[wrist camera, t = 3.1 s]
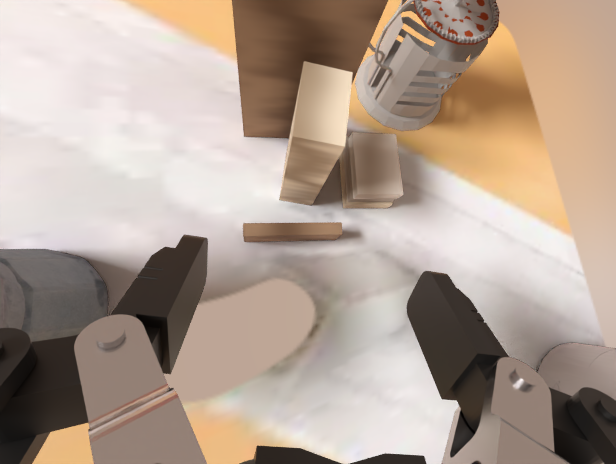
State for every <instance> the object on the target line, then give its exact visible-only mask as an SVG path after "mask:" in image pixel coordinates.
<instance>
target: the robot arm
mask: <svg viewBox="0 0 616 464" xmlns="http://www.w3.org/2000/svg"><path fill="white" fill-rule="evenodd" d="M207 250H208V240H207V238H204V237H197V236H190V235H183V237H182V238H181V240H180V242H179V243H178V245H177V247H176V248H170V247H164V248H163V249H161V250H160V251H158V252H156V253H155V254H153V255H152V256H151V258H150V259H149V261H148V262H147V263H146V265H145V267H144V268H143V269H142V271H141V272H140V273H139V275H138V278H136V279H135V281H134V282H133V284H132V285H131V286H130V288H129V289H128V291H127V292H126V294H125V295H124V296H123V298H122V299H121V301H120V302H119V304H118V305H117V307H116V308H115V309H114V311H113V312H112V314H111V315H110V316H107V317H104V318H101V319H98V320H96V321H94V322H93V323H91V324H89V325H88V326H87V327H86V328H84V329H83V330H82V331H81V332H80V334H78V335H74V336H69V337H62V338H56V339H49V340H42V341H35V342H31V340H30V337H29V335H28V334H27V333H26V332H24V331H22V330H20V329H16V328H0V464H32V463H33V461H34V459H35V458H36V456H37V454H38V453H39V451H40V449H41V447H42V446H43V444H44V442H45V440H46V439H47V437H48V435H49V433H50V432H52V431H56V430H60V429H64V428H68V427H72V426H76V425H80V424H84V423H88V422H89V428H90V429H89V439H90V445H91V450H92V455H93V461H94V464H207V462H206V460H205V458H204V455H203V453H202V451H201V448H200V446H199V444H198V441H197V439H196V437H195V434H194V432H193V429H192V427H191V425H190V422H189V420H188V418H187V415H186V413H185V411H184V408H183V406H182V404H181V401H180V399H179V397H178V395H177V393H176V391H175V390H174V389H173V388H171V389H170V388H169V386H168V384H167V382H166V379H165V377H164V374H163V373H166V374H171V372H172V369H173V367H174V364H175V362H176V359H177V356H178V354H179V351H180V349H181V346H182V343H183V341H184V338H185V335H186V333H187V330H188V328H189V325H190V323H191V320H192V318H193V315H194V312H195V310H196V307H197V305H198V302H199V300H200V297H201V294H202V292H203V289H204V286H205V281H206V275H207ZM407 314H408V318H409V320H410V322H411V325H412V327H413V330H414V332H415V335H416V337H417V340H418V342H419V345H420V347H421V349H422V352H423V354H424V357H425V359H426V362H427V364H428V367H429V369H430V371H431V374H432V376H433V379H434V381H435V384H436V386H437V389H438V391H439V394H440V396H441V398H442V399H446V400H457V402H458V404H459V407H458V408H457V409H456V411H455V413H454V417H453V421H452V425H451V429H450V433H449V437H448V441H447V445H446V449H445V453H444V457H443V460H442V463H441V464H616V348H608V347H601V346H594V345H587V344H579V343H564V344H561V345H559V346H556V347H555V348H553V349H552V350H551V351H549V352H548V354H547V355H546V356H545V357H544V358H543V360H542V362H541V364H540V366H539V369H538V373H537V372H536V371H535V370H534V369H532V368H531V367H530V366H528V365H527V364H525V363H523V362H521V361H520V360H517V359H514V358H510V357H509V356H508V355H507V353H506V352H505V350H504V349H503V348H502V346H501V345H500V343H499V342H498V340H497V339H496V337H495V336H494V334H493V333H492V331H491V330H490V328H489V327H488V325H487V324H486V323H484V320H483V318H482V317H481V315H480V314H479V313H477V309H476V308H475V306H474V305H473V303H472V302H471V300H470V299H469V298H468V297H467V296H465V295H464V294H463V293H462V292H461V291H460V290H459V289H457V288H456V287H455V285H454V284H453V282H452V280H451V279H450V277H449V276H448V275H447V274H444V273H437V272H431V271H425V272H423V273H422V275H421V276H420V278H419V280H418V282H417V284H416V286H415V288H414V290H413V292H412V294H411V296H410V298H409V300H408V303H407ZM240 464H341V463H338V462H336V461H333V460H330V459H328V458H325V457H322V456H320V455H317V454H314V453H311V452H309V451H306V450H303V449H301V448H286V447H270V446H257V448H256V452H255V456H254V459H252V460H249V461H245V462H242V463H240ZM350 464H426V461H425V458H424V456H418V455H402V454H382V455H378V456H375V457H371V458H368V459H364V460H361V461H357V462H354V463H350Z"/></svg>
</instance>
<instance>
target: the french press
mask: <svg viewBox="0 0 616 464" xmlns="http://www.w3.org/2000/svg"><path fill="white" fill-rule="evenodd" d="M406 1H407V0H402V1H401V3H400V5H399V7H398V9H397V11H396V12H395V14H394V15H393V17H392V18H391V19H390V21H389V22H388V23H387V25H386V26H385V27H384V29H383V31H382V34H381V36H380V38H379V40H378V42H377V44H376V48H374V47H373V46H372V45H371V43H369V46H368V47H369V48H370V49H371V50H372V51H374V52H375V54H374V55H371V56H369V57H367V58H366V60H365V61H364V62H363V63H362V64H361V66H360V67H359V69H358V72H357V76H356V81H355V85H356V90H357V94H358V99H359V101H360V102H361V104H362V105H363V107H364V108H365V110H366V111H367V112H368V114H369V115H370V116H372V117H373V118H374V119H376V120H377V121H378V122H380V123H381V124H383V125H384V126H387V127H390V128H394V129H397V130H400V131H406V130H418V129H420V128H422V127H424V126H426V125H428V124H429V123H431V122H432V121H433V120H434V118H435V117H436V115H437V114H438V112H439V111H440V105H441V97H442V96H443V95H444V93H445V92H447V91H448V89H449V88H450V87H451V86H452V84H453V83H454V82H456V81H457V79H458V78H459V77H460V76H461V74H462V72H465V71H466V70H467V69H468V67H469V66H470V65H471V64H472V63H473V62H474V61H475V60H476V59H477V57H478V56H479V55H480V54H481V52H482V51H483V50H484V48H485V47H486V45H487V44H488V38H490V37H491V36H492V35H493V33H494V31H495V30H496V28H497V27H498V23H499V10H498V7H497V3H496V0H408V1H407V2H406ZM405 2H406V3H405ZM412 2H414V4H411V3H412ZM404 3H405V4H404ZM403 4H404V5H403ZM402 5H403V6H402ZM401 6H402V7H401ZM405 11H412V12H414V13H415V14H417V16H418V17H419V18H420V19H421V21H422V22H423V23H424V25H425V26H426V27H427V29H429V30H430V31H431V32H430V31H428V30H427V29H425V28H424V27H422V26H421V25H419V24H418V23H417V22H415V21H414V20H412V19H411V18H409V17H401V13H402V12H405ZM403 23H405V24H407V25H408V26H410V27H411V28H413V29H414V30H415V31H417V32H418V33H420V34H421V35H423V36H424V37H426V38H428V39H430V40H432V41H434V42H436V43H435V45H434V46H433V47H432V46H430V45H428V44H426V43H423V42H422V41H420V40H419V39H417V38H416V37H414V36H412V35H411V34H409V33H408V32H406V31H405V30H403V29H402V26H403ZM432 32H433V33H432ZM398 35H400V36H402V37H403V38H404V40H403V42H402V43H401V42H399V41H398V40H396V38H397V36H398ZM381 42H382V43H381ZM380 44H381V45H380ZM426 51H427V52H429V53H427V52H426ZM470 54H471V55H470ZM469 55H470V60H469V61H468V62H466V58H467V57H468V56H469ZM456 73H459V76H458V77H457V78H455V77H456ZM451 76H452V79H451V78H450V77H451ZM449 84H450V86H449V88H447V86H448V85H449ZM443 85H444V89H441V87H442V86H443ZM442 93H443V94H442ZM441 94H442V95H441Z"/></svg>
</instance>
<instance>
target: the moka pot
mask: <svg viewBox="0 0 616 464" xmlns="http://www.w3.org/2000/svg"><path fill="white" fill-rule="evenodd" d="M107 310H108V296H107V288H106V285H105V283H104V281H103V279H102V278H101V277H100V275H99V274H98V273H97V271H96V270H95V269H94V268H93V267H92V266H91V265H90V264H89V262H88V261H86V260H85V259H84V258H82V257H78V256H74V255H70V254H66V253H61V252H58V251H52V250H47V249H0V328H16V329H20V330H22V331H24V332H26V333H27V334H28V335H29V337H30V340H31V342H35V341H42V340H49V339H56V338H62V337H69V336H74V335H78V334H80V332H81V331H82V330H83V329H84V328H86V327H87V326H88V325H89V324H91V323H93V322H94V321H96V320H98V319H101V318H104V317H107Z"/></svg>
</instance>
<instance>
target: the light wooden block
mask: <svg viewBox="0 0 616 464" xmlns="http://www.w3.org/2000/svg"><path fill="white" fill-rule="evenodd" d="M352 74H353V72H349V71H344V70H340V69H336V68H331V67H327V66H323V65H319V64H314V63H310V62H306V61H304V64H303V69H302V74H301V79H300V85H299V90H298V95H297V100H296V105H295V111H294V116H293V121H292V126H291V132H290V137H289V142H288V147H287V153H286V160H285V166H284V173H283V179H282V186H281V192H280V199H279V200H282V201H288V202H294V203H300V204H306V205H312V204H313V202H314V201H315V199H316V197H317V195H318V193H319V192H320V190H321V188H322V186H323V185H324V183H325V181H326V179H327V178H328V176H329V174H330V172H331V171H332V169H333V167H334V165H335V163H336V162H337V160H338V158H339V156H340V155H341V153H342V151H343V149H344V148H345V143H346V133H347V123H348V113H349V104H350V94H351V84H352Z"/></svg>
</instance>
